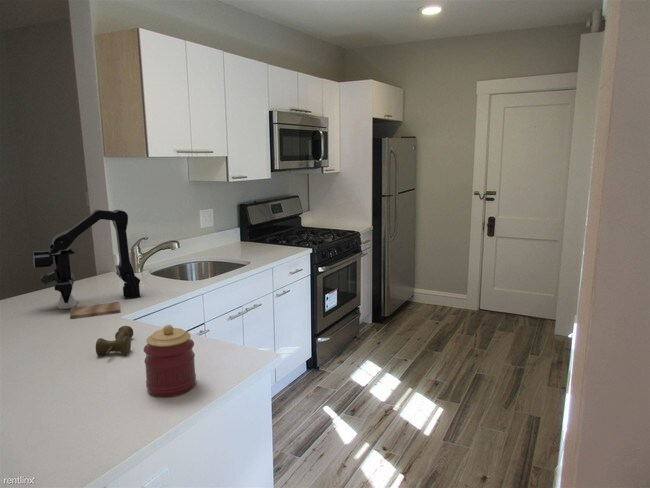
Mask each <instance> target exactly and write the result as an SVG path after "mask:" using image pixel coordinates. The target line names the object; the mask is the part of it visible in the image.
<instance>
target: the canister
mask: <svg viewBox="0 0 650 488" xmlns="http://www.w3.org/2000/svg"><path fill="white" fill-rule="evenodd" d="M194 346H195V342H194V340H193V339H192V338H191V333H190V332H188V331H187V330H185V329H182V328H177V327H173V326H172V324H166V325H164V326H163V328H162V329H158V330H156V331H154V332H153V333H152V334H151V335H150V336H147V338H146V344H145V346H144V347H143V352H144V353H145V357H144V358H145V359H144V366H145V376H146V381H145V384H146V390H147V391H148V393H149V394H150V395H152V396H154V397H159V398H171V397H175V396H181V395H184V394H186V393H187V392H190V391H191V390H192V389H193V388H194V387H195V386H196V380H197V378H196V377H197V373H196V366H195V364H196V362H195V355H196V353H195V352H194V351H193V348H194Z"/></svg>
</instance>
